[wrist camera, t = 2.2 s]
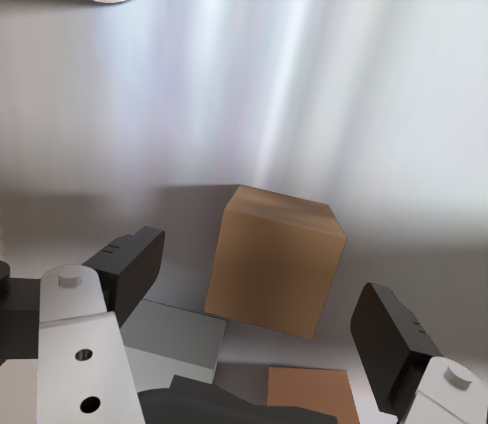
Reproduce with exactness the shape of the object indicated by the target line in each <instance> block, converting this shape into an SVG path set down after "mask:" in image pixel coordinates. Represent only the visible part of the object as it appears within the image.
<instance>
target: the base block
mask: <svg viewBox="0 0 488 424" xmlns="http://www.w3.org/2000/svg"><path fill="white" fill-rule="evenodd" d="M226 323H227V321H224V320H221V319H217V318H213V317H209V316H205V315H201V314H197V313H194V312H190V311H186V310H182V309H178V308H174V307H170V306H166V305H163V304H159V303H155V302H151V301H147V300H143V299H142V300H141V301H140V302H139V304H138V305H137V307H136V308H135V309H134V311H133V312H132V313H131V315H130V316H129V317H128V319H127V320H126V321H125V323H124V324H123V326H122V327H121V328H120V334H121V337H122V341H123V345H124V348H125V352H126V355H127V359H128V363H129V366H130V370H131V373H132V377H133V381H134V384H135V388H136V392H137V393H138V392H141V391H145V390H150V389H157V388H169V387H170V384H171V382H172V379H173V377H174V374H175V375H179V376H182V377H186V378H190V379H194V380H198V381H202V382H205V383H209V384H213V379H214V375H215V371H216V366H217V362H218V358H219V353H220V349H221V345H222V340H223V336H224V332H225V327H226Z"/></svg>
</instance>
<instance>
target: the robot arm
mask: <svg viewBox="0 0 488 424" xmlns="http://www.w3.org/2000/svg"><path fill="white" fill-rule="evenodd" d="M164 239H165V232H164V231H162V230H158V229H154V228H150V227H146V226H145V227H143V228H142V229H141V230H140V231H139V232H137V233H136V234H135V235H134V236H132V235H126V236H123V237H120V238H116V239H115V240H114V241H112V242H111V243H110V244H108V246H106V247H104V248H103V249H102V251H99V252H98V253H97V254H95V255H94V256H93V257H91V258H90V259H89V260H87V261H86V262H85V263H83V264H82V265H65V266H60V267H56V268H54V269H51V270H49V271H47V272H46V273H45V274H44V275H43V276H42V278H41V279H24V278H10V267H9V265H8V264H7V263H5V262H3V261H0V366H1V365H2V364H3V363H4V362H5V361H6V360H7V359H38V384H37V385H38V387H37V388H38V389H37V421H36V423H37V424H338V421H337V417H335V416H331V415H328V414H324V413H320V412H316V411H312V410H309V409H305V408H301V407H297V406H255V405H252V404H250V403H248V402H246V401H244V400H242V399H240V398H238V397H236V396H234V395H233V394H231V393H229V392H227V391H225V390H223V389H221V388H219V387H217V386H215V385H213V384H209V383H205V382H202V381H198V380H194V379H190V378H186V377H182V376H179V375H175V374H174V377H173V379H172V382H171V384H170V387H169V388H157V389H150V390H145V391H141V392H138V393H137V392H136V388H135V384H134V381H133V377H132V373H131V370H130V366H129V363H128V359H127V355H126V352H125V348H124V345H123V341H122V337H121V334H120V328H121V327H122V326H123V324H124V323H125V321H126V320H127V319H128V317H129V316H130V315H131V313H132V312H133V311H134V309H135V308H136V307H137V305H138V304H139V302H140V301H141V300H142V298H143V297H144V296H145V294H146V293H147V292H148V290H149V289H150V287H151V286H152V285H153V283H154V282H155V280H156V278H157V276H158V273H159V270H160V265H161V258H162V252H163V245H164ZM351 333H352V336H353V339H354V342H355V345H356V347H357V350H358V353H359V356H360V358H361V361H362V364H363V367H364V369H365V372H366V375H367V378H368V381H369V383H370V386H371V389H372V392H373V394H374V397H375V400H376V403H377V406H378V408H379V411H380V412H384V413H388V414H392V415H395V416H397V418H398V421H397V423H396V424H488V390H487V388H486V386H485V385H484V384H483V382H482V381H481V380H480V379H479V378H478V377H477V376H476V375H475V374H473V373H472V372H471V371H470V370H468V369H467V368H465V367H464V366H462V365H460V364H459V363H457V362H455V361H452V360H450V359H447V358H444V357H443V356H442V354H441V353H440V351H439V350H438V349H437V347H436V346H435V344H434V343H433V342H432V340H431V339H430V337H429V336H428V335H427V334H426V332H425V330H424V329H423V327H422V326H420V323H419V322H418V320H417V319H416V318H415V316H414V315H413V314H412V313H411V312H410V311H409V310H408V309H407V308H405V307H404V306H403V305H402V304H400V303H399V301H398V300H397V298H396V297H395V295H394V294H393V292H392V291H391V289H390V288H388V287H385V286H381V285H377V284H373V283H367V284H366V285H365V286H364V288H363V290H362V293H361V295H360V298H359V300H358V303H357V305H356V308H355V310H354V313H353V315H352V318H351Z"/></svg>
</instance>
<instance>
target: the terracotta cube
mask: <svg viewBox="0 0 488 424" xmlns="http://www.w3.org/2000/svg"><path fill="white" fill-rule="evenodd" d="M267 406H297V407H301V408H305V409H309V410H312V411H316V412H320V413H324V414H328V415H331V416H335V417H337V421H338V424H360V422H359V418H358V414H357V411H356V407H355V403H354V399H353V395H352V391H351V388H350V384H349V380H348V376H347V372H346V371H344V370H324V369H304V368H284V367H269V376H268V397H267Z"/></svg>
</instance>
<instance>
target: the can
mask: <svg viewBox="0 0 488 424" xmlns="http://www.w3.org/2000/svg"><path fill="white" fill-rule="evenodd" d="M94 1H98V2H103V3H116V2H122V1H125V0H94Z"/></svg>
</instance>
